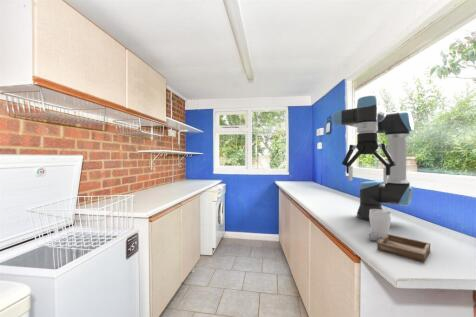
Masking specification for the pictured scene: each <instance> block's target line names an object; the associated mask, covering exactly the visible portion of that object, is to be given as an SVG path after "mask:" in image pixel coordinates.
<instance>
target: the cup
mask: <svg viewBox="0 0 476 317" xmlns="http://www.w3.org/2000/svg"><path fill="white" fill-rule="evenodd" d="M369 219H370V221H369V225H370V230H371V231H370V232H375V233H377V235H378V238H381V239H382V238H384V237H385V236H386V235H387V234H389V232H390V226H391V225H390V224H391V220H392V216H391V211H389V210H386V209H382V210H381V209H370V211H369Z"/></svg>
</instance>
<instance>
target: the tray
mask: <svg viewBox="0 0 476 317" xmlns="http://www.w3.org/2000/svg"><path fill="white" fill-rule="evenodd" d="M376 247H377V249H376V250H377V251H381V252H384V253H388V254H390V255H395V256H398V257H402V258H405V259H410V260H413V261H417V262H420V263H425V262H426V260H427V258H428V256H429V254H430V252H431V243H429V242H425V241H420V240H418V239H411V238H407V237H402V236H398V235H394V234H390V233H388V234H387V235H386V236H385V237H384V238H382V237H381V239H380V240H379V241H378V242H377V246H376Z"/></svg>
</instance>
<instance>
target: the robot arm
mask: <svg viewBox="0 0 476 317" xmlns="http://www.w3.org/2000/svg"><path fill="white" fill-rule="evenodd" d="M413 120H414V119H413V116H412V114H411V112H410V111H407V110H401V111H400V110H399V111H393V112H387V111H386V109H385V108H384V107H383V106H381V105H379V104H378V97H377V96H375V95H366V96H361V97H359V98H358V99H357V104H356V107H355V108H350V109H340V110H338V111H337V110H336V111H334V113H333V115H332V122H333V124H334V125H335V126H349V127H353V128H356V130H357V135H356V138H357V139H356V143H357V144H356V145H355V144H349V146H348V147H349V148H348V151H347V153H346V154H345V156H344V158H343V161H342V162H341V164H342V165H343V166H345V167H346V169H345V171H346V174H348V181H349V182H351V181H354V180H353V178H354V177H353V176H354V175H353V170H354V169H353V168H354V167H353V166H352V165H353V163H355V162H356V160H358V158H359V157H360V156H362V155H373V156H375V158H376V159H377V160H379V161H380V162H381V164H382V165H384V167H383V179H382V180H383V182H382V181H380V180H369V181H362V182H361V183H360V184H359V207H358V209H357V212H356V217H357V218H358V219H361V220H365V221H369V222H370V219H369V211H370V209H381V210H383V208H382V204H387V205H395V206H399V207H400V206H402V207H403V206H404V207H407V206H409V205H410V204H411V203H412V200H413V195H414V186H412V185H411V183H410V181H409V180H408V179H407V138H408V136H410V134H411V132H412V131H414V121H413ZM378 134H385V135H384V136H385V137H386V138H387V139H388V140H387V143H380V144H379V143H378ZM378 148H379V149H381V150H382V152H383V154H384V156H385V157H386V159H387V160H386V159H385V157H383V156H382V155H381V154H380V153H379V151H378ZM354 150H357V151H356V152H355V154H354V155H353V156H352V154H353V153H354Z"/></svg>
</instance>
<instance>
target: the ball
mask: <svg viewBox="0 0 476 317" xmlns="http://www.w3.org/2000/svg"><path fill="white" fill-rule="evenodd" d="M367 236H368V239H369V240H370V241H372V242H375V241H377V240H378V239H379V237H378V235H377V233H375V232H371V231H370V232H368V234H367Z"/></svg>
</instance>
